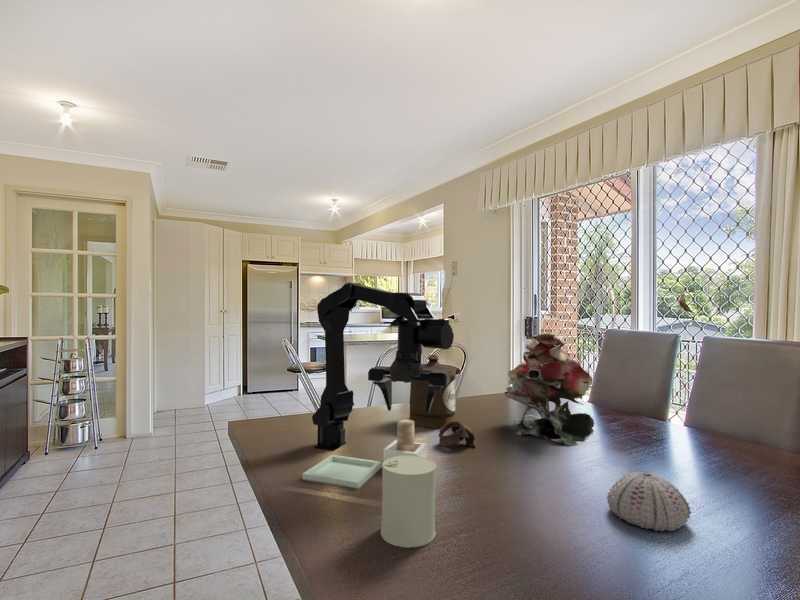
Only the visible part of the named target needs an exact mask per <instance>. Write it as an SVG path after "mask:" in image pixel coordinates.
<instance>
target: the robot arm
mask: <svg viewBox="0 0 800 600" xmlns="http://www.w3.org/2000/svg"><path fill="white" fill-rule="evenodd" d="M358 301H360V302H365V303H367V304H368V303H369V304H372V305H375V306H380V307H384V308H385V309H387V310H388V311H389V312H390V313H392V314H394V315H396V317H395V319H394V320H392V321H391V322H390V324H389V325H390V326H392V327H397V350H396V352H395V358H394V359H393V362H392V363H391V365H390V366H386V365H385V366H383V365H376V366H373V367H371V368H370V369H369V370H368V372H367V380H368V381H371V382H372V383H373V385H376V386H378V388H379V389H380V391H381V393H382V396H383V399H384V402H385V404H386V408H387V411H392V405H393V404H392V402H393V385H392V384H393V383H397V382H399V383H400V382H403V383H404V384H405V383H406V384H408V383H411V381H412V380H423V381H429V382H430V385H429V386H428V387H427V389H428V395H427V403H426V414H428V413H429V411H430V408H431V405H432V403H433V400H434V397H435V395H436V393H437V391H438V389H441V388H442V387H443V386H446V385H447V384H448V383H450V373H449V372H448V371H447V370H432V371H431V372H430V373H423V372H422V364H423V363H422V360H423V359H422V356H423V348H428V349H440V350H449V349H450V348H451V347H452V346H453V343H454V338H455V337H454V332H453V328H452V325H450V319H449V318H438V319H437V318H435V316H434V314H433V313H432V311H431V309H430V308H429V306H428V305H427V300H426V298H425V296H424V295H423V294H422V293H417V292H392V291H387V290H384V289H380V288H375V287H372V286H366V285H363V284H362V283H360V282H359V283H358V282H357V283H356V282H347V283H345V284H343V285H341V287H340V288H339V289H337V290H335V291H333V292H332V293H329V294H328V295H327V296H326V297H323V298H322V299H320V301H319V302H318V304H317V307H316V309H317V316H318V317H317V318H318V323H319V324H320V325H321V328H322V329H323V330H324V342H325V343H324V345H325V346H324V348H325V353H324V354H325V382H326V383H325V387H324V389H323V392H322V394H321V396H320V404H319V407H318V409H316V411H315V412H314V413H313V414H312V416H311V420H312V423H313V425H315V426H317V436H316V437H317V439H316V444H314V445H313V446H314V448H318V449H325V450H332V451H336V450H338V449H339V448H341V447H342V446H344V445H346V444H347V441H346V428H345V426H344V422H347V421H349V417H350V414H351V413H352V411H353V407H354V406H355V402H354V391H353V390H351V389H350V390H349V388H348V386H347V385H346V375H345V374H346V371H345V341H344V340H345V339H344V338H345V337H344V336H345V335H344V330H345V329H346V326H347V324H348V322H349V319H350V311H352V310H353V309H354V308H355V307H356V306H357V303H358ZM418 323H419V324H418ZM422 347H423V348H422Z"/></svg>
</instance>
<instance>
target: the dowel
mask: <svg viewBox="0 0 800 600" xmlns="http://www.w3.org/2000/svg"><path fill="white" fill-rule="evenodd" d="M396 423H397V424H396V425H397V427H396V428H397V431H396V436H397V437H396V440H397V450H401V451H409V452H414V442H415V425H414V421H412V420H410V419H400V420H397V421H396Z"/></svg>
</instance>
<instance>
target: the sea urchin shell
mask: <svg viewBox="0 0 800 600" xmlns="http://www.w3.org/2000/svg"><path fill="white" fill-rule="evenodd" d="M606 499H607V500H606V501H607V504H608V507H609V508H610V510H611V512H612V513H614V514H615V516H617V517H619V518H620V519H621V520H625V521H626V523H629V524H632V525H634V526H635V525H636V526H637V527H640V528H642V529H646V530H648V529H652V530H653V531H655V532H657V531H659V532H664V531H668V532H671V531H676V529H678V530H679V529H680V528H681V527H685V523H688V522H689V520H688V519H690V518H691V516H690V515H691V514H692V511H691V506H689V504H690V503H689V502H687V498H685V497H684V495H683V493H682V492H681V491H680V490H679V489H678V488H677V487H676V486H675V485H674V484H673V483H671V482H670V481H669V480H667V479H665V478H664V477H661V476H659V475H656V474H654V473H651V472H642V471H640V472H638V471H635V472H634V471H633V472H630V473H626V474H623V476H621V477H619V479H618V480H616V481H615V483H614V484H612V487H611V488H610V489H609V492H608V493H607V496H606Z"/></svg>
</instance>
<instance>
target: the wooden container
mask: <svg viewBox="0 0 800 600" xmlns="http://www.w3.org/2000/svg"><path fill="white" fill-rule="evenodd" d="M427 358H428V360H429V361H428V362H427V363H422V372H423V373H430V372H431V371H432V370H447V371H448V372H449V373H450V383H448V384H447V385H446V386H443V387H442V388H441V389H438V391H437V393H436V395H435V397H434V400H433V403H432V405H431V408H430V411H429V413H428V414H426V403H427V395H428V389H427V387H428V386H429V385H430V382H429V381H423V380H412V381H411V382H410V387H409V388H410V391H409V392H410V393H409V420H412V421H414V426H415V425H416V426H415V427H420V428H424V427H425V429H441V428H442V427H443V426H444V425H445V424H447V423H449V422H451V421H456V375H457V374H456V373H457V369H456V367H455V366H453V365H449V364H443V363H442V364H441V363H439V361H438V360H439V356H438V355H436V354H431V355H428V357H427Z"/></svg>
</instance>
